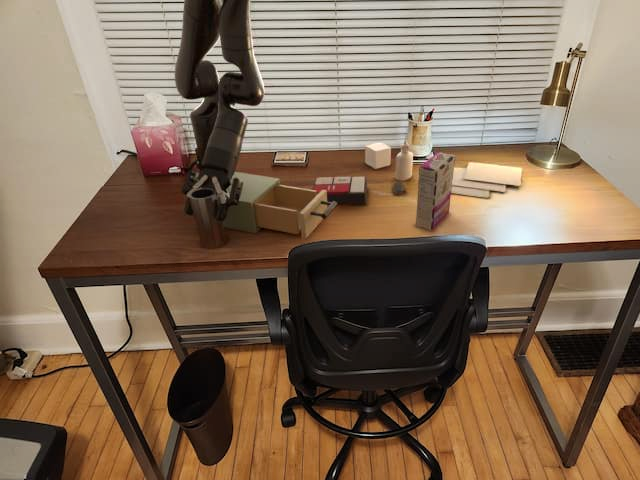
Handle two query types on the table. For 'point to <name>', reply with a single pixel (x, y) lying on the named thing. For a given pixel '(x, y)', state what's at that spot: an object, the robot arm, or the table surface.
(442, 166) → the candy bar box
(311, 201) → the drawer
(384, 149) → the cream white cube
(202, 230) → the metal cup
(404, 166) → the eye dropper bottle
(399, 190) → the block
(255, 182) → the cabinet
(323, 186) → the red and black box
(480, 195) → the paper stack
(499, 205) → the table surface
